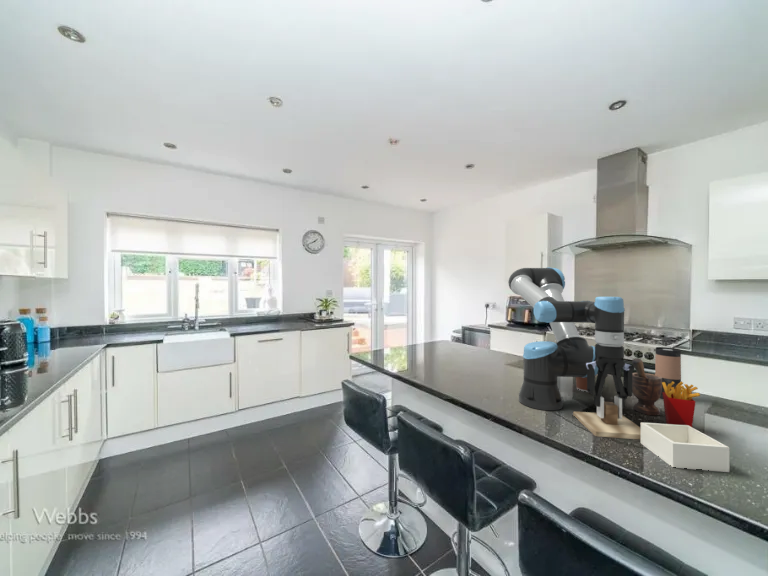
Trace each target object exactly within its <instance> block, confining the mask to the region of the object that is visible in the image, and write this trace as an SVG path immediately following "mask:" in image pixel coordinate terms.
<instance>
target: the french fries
mask: <svg viewBox="0 0 768 576" xmlns="http://www.w3.org/2000/svg"><path fill="white" fill-rule="evenodd" d="M673 384H674V382H673V381H672V382H671V383H670V384H668V386H666V384H665V382H662V385H663V387H664V390H665V392H662V393H663V399H662V400H663V408H664V409H663V410H664V416H665V417H664V418H665V424H674V425H689V426H690V427H692V428H693V424H694V423H693V422H694V415H695V409H696V408H695V407H696V400H694V399H693V398H697V397H701V394H700V392H694V391H696V390H698V389H699V388H698V386H694V385H693V384H690V385H688V383H687V384H686V383H685V384H684V382H683V381H682V380H681V382H680V383H679V384H678V385H677V386H676V388H675V389H674V387H672V385H673ZM684 386H685V387H684ZM670 389H671V391H670ZM693 392H694V393H693Z"/></svg>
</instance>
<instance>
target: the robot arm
mask: <svg viewBox="0 0 768 576" xmlns="http://www.w3.org/2000/svg"><path fill="white" fill-rule="evenodd" d="M507 281H508V283H507V284H508V287H509V289H510V290H511V291H512V292H513V293H514V294H516V295H519V296H520V297H521V298H522V299H523V300H524V301H526V303H528V304H529V305H530V307H532V308H533V315H534V319H535V320H536V321H537V322H539V323H547V324H548V323H549V325H550V327H551V331H552V332H553V333H552V334H553V336H554V338H555V340H556V341H555V342H553V341H549V340H548V341H544V340H543V341H542V340H541V341H532V342H528V343H527V344H525V345H524V346H523V355H522V359H523V381H522V384H521V387H520V390H519V393H518V402H519V403H521V405H523V406H526V407H529V408H532V409H536V410H542V411H558V410H560V409H562V408H563V402H564V401H563V398H562V395H561V392H560V389H559V386H558V377H560V378H562V377H563V378H564V377H565V378H576V377H582V378H585V377H587V391H588V392H587V393H589V394H591V396H592V395H593V404H594V406H595V407H596V413H597V415H598V416H599V417H600V418H604V402H605V398H604V397H603V396H602V393H603V390H604V386H605V383H606V379H607V377H608V375H610V374H611V376H612V378H613V383H614V387H615V392H616V395H614V396H613V397H614V402H613V403H614V404H615V405H617V406H618V419H622V415H623V409H625V407H626V400H627V399H628V397H629V398H631V397H632V396H633V392H632V373H634V371H635V370H636V369H635V367H634V366H633V364H629V363H626V361H625V360H624V357H625V347H624V346H623V345H624V344H625V311H626V310H625V305H624V303H625V302H624V298H623V297H621V296H596V297H595V300H594V301H590V300H580V301H578V300H577V301H575V300H573V301H571V300H570V301H567V300H566V301H565V299H564V296H563V295H562V293H563V292H564V289H565V286H566V278H565V275H564V273H563V272H562V270H561V269H559V268H556V267H523V268H522V267H521V268H518V269H517V270H515V271H514V272H512V273H511V274H510V276H509V278H508V280H507ZM575 323H579V324H580V323H581V324H582V323H590V324H594V342H595V344H594V345H589V342H588V341H587V339H586V338H585V337H583V336H581V335H580V334H579V331H578V329H577V327H576V325H575ZM622 369H623V380H622V373H621V370H622Z"/></svg>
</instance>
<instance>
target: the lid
mask: <svg viewBox="0 0 768 576" xmlns="http://www.w3.org/2000/svg"><path fill="white" fill-rule="evenodd" d="M572 413H573V414H572V415H573V417H574V416H575V417H576V418H577V419H578V420H577V419H576V420H577V421H578V422H580V423H581V424H582V425H583V426H584V427H585V428H586V429H587V430H588V431H589V432H591V434H593V436H595V437H598V438H599V437H600V438H602V437H603V438H613V439H614V438H616V439H626V440H627V439H630V440H640V441H641V426H639V425H638V424H636V423H635V422H633V421H632V420H630V419H629V418H627V417H626V416H625V415H623V414H622V419H618V406H617V405H615V404H614V402H613V401H604V418H600V417H599V416H598V415H597V412H588V411H587V412H586V411H573V412H572ZM575 417H574V418H575Z"/></svg>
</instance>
